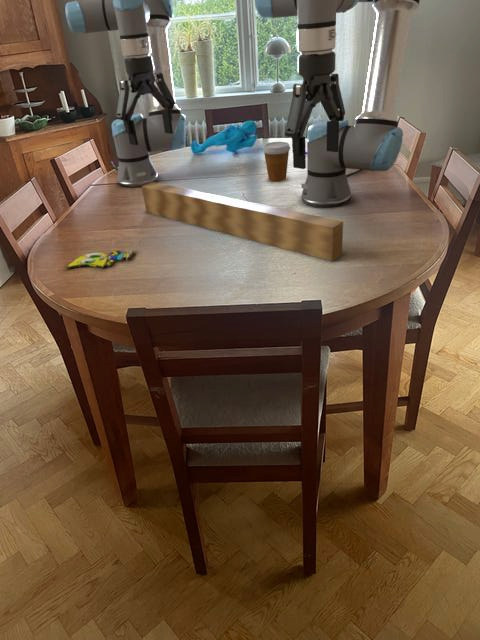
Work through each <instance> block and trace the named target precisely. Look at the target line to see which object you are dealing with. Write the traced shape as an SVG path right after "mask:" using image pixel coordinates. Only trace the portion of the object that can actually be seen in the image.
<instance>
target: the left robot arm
mask: <svg viewBox="0 0 480 640" xmlns="http://www.w3.org/2000/svg"><path fill="white" fill-rule="evenodd" d="M172 5H173V4H172V0H74V1H68V2H66V4H65V7H64V8H65V10H64V11H65V12H64V13H65V18H66V21H67V25H68V27H69V30H70V31H71V32H72V33H73V34H74V35H75V34H76V35H77V34H78V35H80V34H83V35H86V34H91V33H93V34H94V33H101V32H113V31H118V33H119V34H118V35H119V39H120V40H119V41H120V46H121V53H122V56H123V57H125V58H124V67H125V72H126V74H127V75H128V79H119V81H118V83H119V94H118V100H117V107H116V113H115V120H113V121H112V122H111V132H112V138H113V142H114V146H115V151H116V156H117V160H118V167H117V166H115V165H114V163H113V160H112V161H111V160H110V161H109V165H110V166H111V167H112V169H114V170H116V171H117V183H118V186H120V187H123V188H124V187H125V188H136V187H137V188H138V187H142V186H143V185H146V184H149V183H151V182H155V183H156V182H157V181H158V180H159V176H158V172H157V169H156V168H155V166H154V163H153V161H152V159H151V156H150V153H152V152H153V153H155V152H165V151H174V150H181V149H183V148H184V147H185V146H186V141H187V121H186V120H187V119H186V115H185V114H183V113H182V112H181V108H179V107H178V105H177V103H176V97H175V88H174V81H173V71H172V64H171V53H170V47H169V38H168V28H169V27H170V25H171V19H172V18H173V17H174V16H175V15H174V10H173V6H172ZM147 94H148V95H149V96H150V103H151V104H150V105H151V107H150V109H149V110H148V112H147V113H148V117H144V116H143V114H142V113H134V112H135V109H136V106H137V103H138V101H139V99H140V98H141V96H145V95H147Z"/></svg>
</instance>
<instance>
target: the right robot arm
mask: <svg viewBox="0 0 480 640" xmlns="http://www.w3.org/2000/svg"><path fill="white" fill-rule="evenodd" d="M420 2H421V1H420V0H254V7H255V9H256V13H257V14H258V15H259V17H261V18H263V19H273V20H274V19H280V18H289V17H296V18H297V21H296V22H297V24H296V26H297V27H296V28H297V30H296V46H297V47H296V50H297V52H299V53H300V54H298V56H297V74H298V75H299V76H301V77H302V83H294V84H293V85H292V98H291V101H290V107H289V112H288V116H287V121H286V126H285V129H284V136H285V137H288V138H291V146H292V147H291V149H292V164H293V166H292V167H293V169H298V170H299V169H301V170H305V169H306V168H307V171H306V172H307V175H306V178H305V181H304V183H300V186H301V187H300V188H301V189H302V191H301V202H302V203H303V204H304V205H306V206H309V207H315V208H335V207H340V206H344V205H346V204H348V203H349V202H350V201H351V200H352V198H351V197H352V192H351V188H350V183H349V180H348V178H349V177H352V176H353V175H356V174H358V173H361V172H362V171H370V172H387V171H389V170H390V169H391V168H392V167H393V166H394V164H395V163H396V161H397V159H398V156H399V154H400V152H401V148H402V145H403V136H404V131H403V129H402V128H401V127H399V120H398V118H397V117H396V115H395V110H396V105H397V99H398V92H399V86H400V81H401V75H402V68H403V63H404V57H405V52H406V47H407V41H408V35H409V30H410V29H409V28H410V24H411V17H412V14H414V13H415V12H416V11H417V10H419V6H420ZM358 3H372V9H373V10H374V12H375V13H376V20H375V26H374V32H373V38H372V39H373V40H372V47H371V53H370V59H369V65H368V72H367V77H366V85H365V92H364V99H363V105H362V111H361V113H360V114H358V115H357V116H356V117H355V121H354V125H349V124H350V123H349V121H348V119H347V118H345V116H346V110H345V105H344V100H343V97H342V93H341V87H340V78H339V73H335V72H336V53H335V51H333V50H335V48H336V38H337V32H336V31H337V30H336V29H337V27H336V25H337V14H339V13H340V14H341V13H346V12H348V11H349V10H352V9H353V8H355V6H357V4H358ZM319 103H320V104H321V106H322V108H323V110H324V112H325V114H326V115H327V118H328V120H323V121H319V122H316V123H313V124H312V125H310V126H309V127H308V129H307V125H308V122H309V120H310V117H311V114H312V111H313V109H314V108H316V106H317V104H319ZM306 129H307V138H306V136H304V134H305V131H306ZM306 144H307V145H306ZM306 152H307V154H306ZM347 169H352V170H355V171H351V172H350V173H348V174H347Z"/></svg>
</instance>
